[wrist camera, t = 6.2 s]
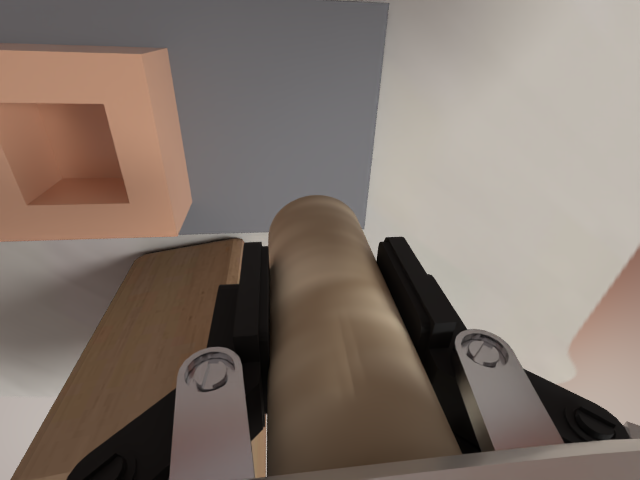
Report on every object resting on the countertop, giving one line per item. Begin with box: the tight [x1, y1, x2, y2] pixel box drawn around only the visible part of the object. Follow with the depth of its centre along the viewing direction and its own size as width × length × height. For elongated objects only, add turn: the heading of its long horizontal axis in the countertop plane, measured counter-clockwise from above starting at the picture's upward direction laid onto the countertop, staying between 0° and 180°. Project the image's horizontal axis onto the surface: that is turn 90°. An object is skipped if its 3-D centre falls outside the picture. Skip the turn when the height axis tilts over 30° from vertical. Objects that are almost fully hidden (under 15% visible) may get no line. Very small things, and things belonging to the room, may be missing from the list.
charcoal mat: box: [0, 0, 389, 235], centre depth 27 cm, size 26×17×1 cm, turn 88°
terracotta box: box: [0, 43, 192, 242], centre depth 23 cm, size 11×11×6 cm
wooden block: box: [11, 238, 266, 480], centre depth 26 cm, size 10×10×20 cm
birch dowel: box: [267, 195, 462, 477], centre depth 10 cm, size 4×4×10 cm
